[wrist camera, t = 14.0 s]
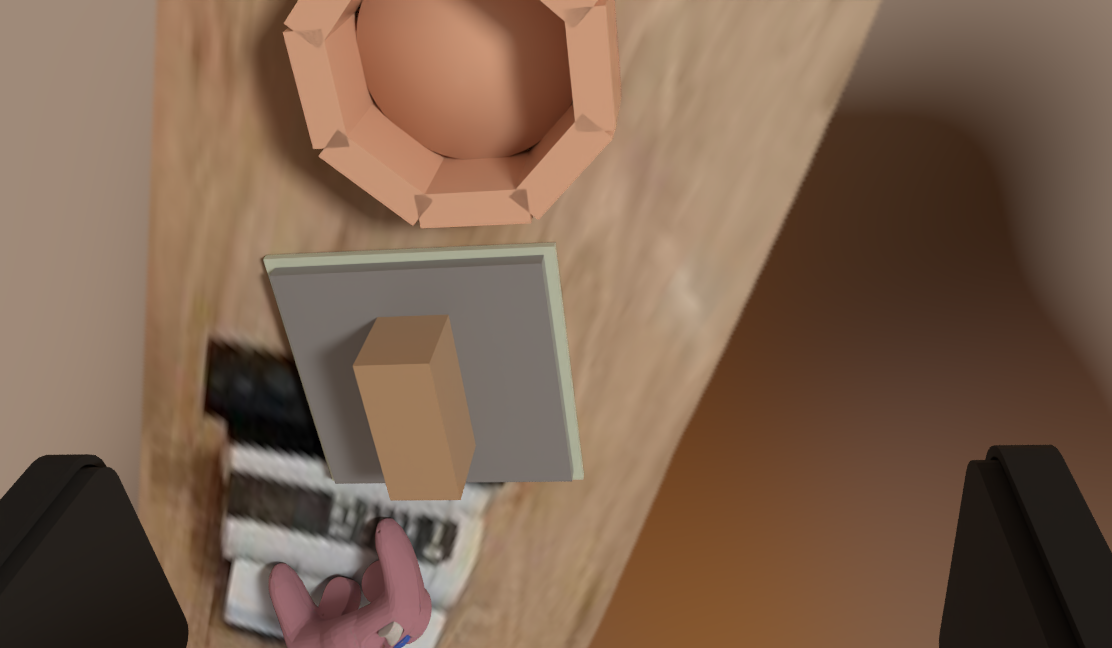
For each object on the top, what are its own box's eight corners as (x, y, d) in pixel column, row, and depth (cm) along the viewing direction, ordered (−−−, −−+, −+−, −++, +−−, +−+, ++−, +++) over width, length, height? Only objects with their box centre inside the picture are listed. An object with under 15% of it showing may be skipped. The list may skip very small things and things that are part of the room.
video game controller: (316, 579, 60) (316, 694, 56) (261, 563, 56) (257, 683, 52) (438, 529, 56) (447, 648, 52) (388, 509, 53) (393, 634, 49)
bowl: (294, -94, 36) (254, -75, 33) (605, -127, 34) (597, -110, 31) (362, 191, 42) (335, 232, 39) (627, 177, 41) (622, 218, 37)
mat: (266, 255, 45) (262, 259, 45) (555, 242, 43) (554, 246, 42) (334, 475, 52) (332, 480, 52) (583, 474, 50) (583, 479, 50)
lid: (275, 267, 45) (235, 321, 41) (543, 254, 43) (529, 310, 39) (339, 473, 52) (310, 537, 48) (573, 471, 50) (564, 537, 46)
